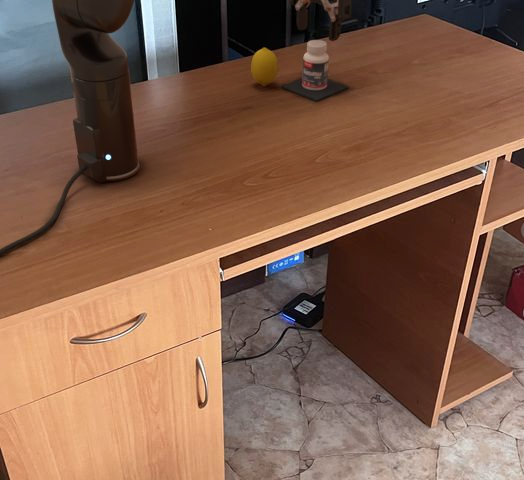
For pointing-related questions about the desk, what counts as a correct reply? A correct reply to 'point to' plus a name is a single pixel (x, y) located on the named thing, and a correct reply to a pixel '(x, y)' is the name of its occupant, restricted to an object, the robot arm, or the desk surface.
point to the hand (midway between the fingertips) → (317, 34)
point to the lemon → (264, 66)
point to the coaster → (312, 94)
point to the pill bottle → (315, 66)
